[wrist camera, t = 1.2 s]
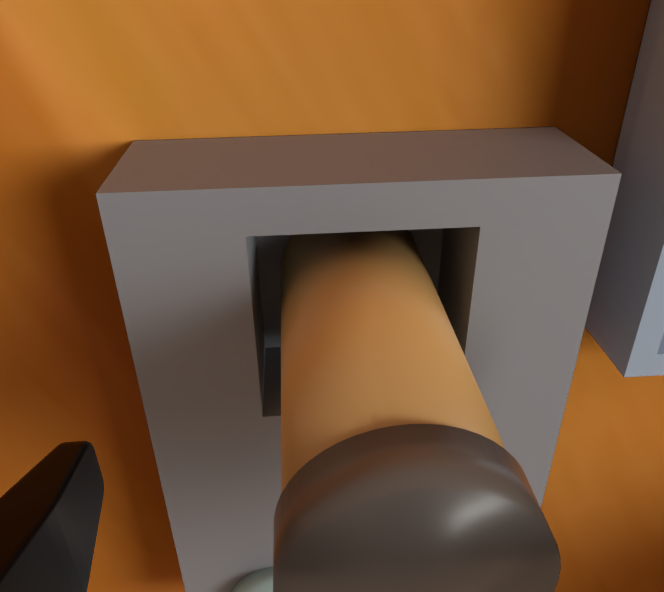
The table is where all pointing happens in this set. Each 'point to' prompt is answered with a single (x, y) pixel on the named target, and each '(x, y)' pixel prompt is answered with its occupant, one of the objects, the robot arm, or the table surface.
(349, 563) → the cylinder
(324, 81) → the table surface
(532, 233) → the panel
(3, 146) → the table surface
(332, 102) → the table surface
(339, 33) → the table surface
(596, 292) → the parts tray
